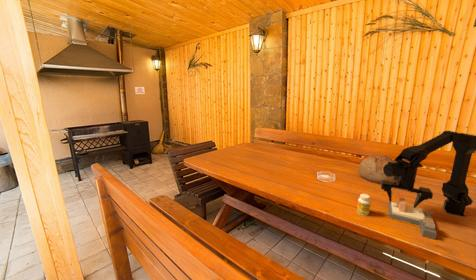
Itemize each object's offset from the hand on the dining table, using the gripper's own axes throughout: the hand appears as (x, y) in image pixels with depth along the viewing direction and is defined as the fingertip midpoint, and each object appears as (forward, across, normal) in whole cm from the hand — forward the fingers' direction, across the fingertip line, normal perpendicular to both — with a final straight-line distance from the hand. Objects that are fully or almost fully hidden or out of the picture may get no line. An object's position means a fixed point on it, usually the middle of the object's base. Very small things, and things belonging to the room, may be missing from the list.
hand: (401, 204), depth 100 cm
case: (+5, -3, +4) cm, 8 cm away
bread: (+6, +9, -45) cm, 46 cm away
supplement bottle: (+6, +16, +8) cm, 18 cm away
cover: (+3, -2, 0) cm, 4 cm away
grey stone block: (+2, -8, +10) cm, 13 cm away
